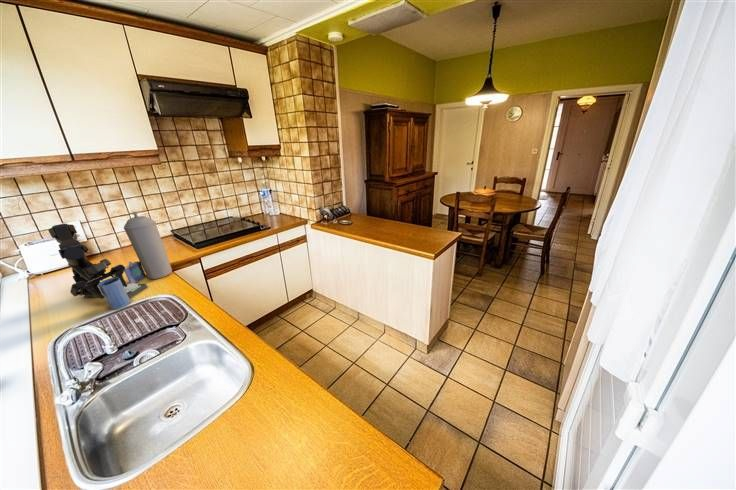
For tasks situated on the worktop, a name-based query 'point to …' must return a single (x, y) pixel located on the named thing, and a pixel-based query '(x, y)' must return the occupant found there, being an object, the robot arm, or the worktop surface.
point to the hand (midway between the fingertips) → (115, 292)
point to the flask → (134, 272)
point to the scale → (134, 289)
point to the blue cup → (114, 293)
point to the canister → (148, 246)
